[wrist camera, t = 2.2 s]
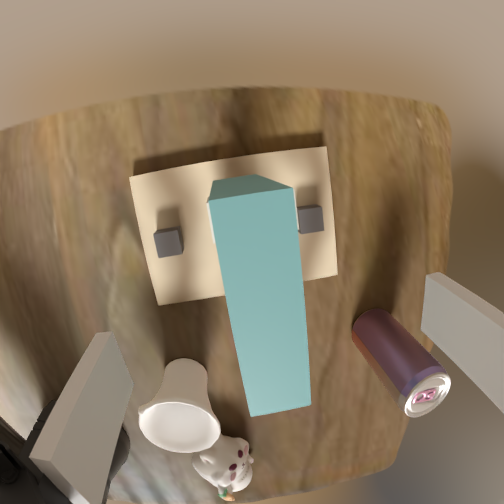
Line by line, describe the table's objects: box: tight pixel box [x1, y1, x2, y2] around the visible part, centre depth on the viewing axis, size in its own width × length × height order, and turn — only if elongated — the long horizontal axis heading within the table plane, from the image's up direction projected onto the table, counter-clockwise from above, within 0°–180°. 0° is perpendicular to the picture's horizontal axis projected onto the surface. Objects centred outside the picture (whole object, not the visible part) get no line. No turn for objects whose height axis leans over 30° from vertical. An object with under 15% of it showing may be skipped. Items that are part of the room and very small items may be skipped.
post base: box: [129, 147, 337, 306], centre depth 30 cm, size 20×14×8 cm
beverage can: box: [352, 309, 451, 417], centre depth 32 cm, size 6×6×15 cm
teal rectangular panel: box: [206, 174, 311, 417], centre depth 20 cm, size 3×11×13 cm, turn 8°
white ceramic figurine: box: [192, 433, 254, 501], centre depth 39 cm, size 10×8×15 cm
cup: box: [138, 358, 221, 453], centre depth 33 cm, size 9×9×10 cm
